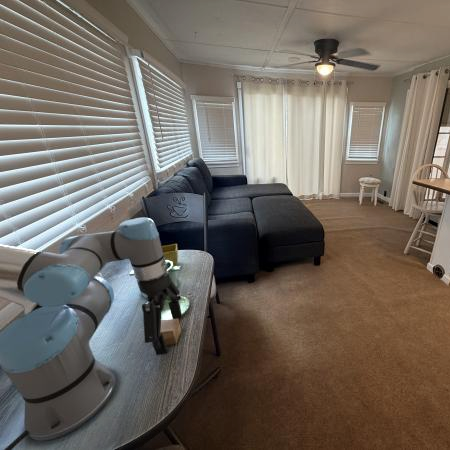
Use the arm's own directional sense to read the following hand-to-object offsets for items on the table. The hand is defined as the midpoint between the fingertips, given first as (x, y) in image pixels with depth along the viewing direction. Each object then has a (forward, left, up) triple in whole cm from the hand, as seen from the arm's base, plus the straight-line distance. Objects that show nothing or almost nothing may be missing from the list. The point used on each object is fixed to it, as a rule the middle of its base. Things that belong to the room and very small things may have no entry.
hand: (170, 334), depth 72 cm
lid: (+8, +11, -1) cm, 14 cm away
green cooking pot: (+16, +26, -1) cm, 31 cm away
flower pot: (+30, +38, -2) cm, 49 cm away
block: (0, 0, -1) cm, 1 cm away
